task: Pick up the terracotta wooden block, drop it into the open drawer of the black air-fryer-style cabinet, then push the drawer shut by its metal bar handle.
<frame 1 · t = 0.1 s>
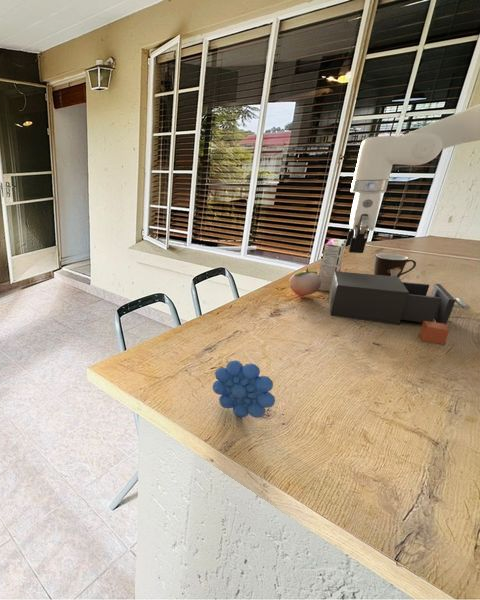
hand: (354, 248, 100), 19 cm above the counter, tool pointing down, fingers open, 9 cm apart
decorative fruit: (302, 297, 118), on the counter
drawer: (417, 302, 98), point 5 cm above the counter, slide at 8.0 cm
block: (431, 339, 88), on the counter
cabinet: (360, 310, 105), on the counter
blue bumpy cluster: (241, 414, 67), on the counter
candy bar box: (326, 287, 125), on the counter
coffee mug: (389, 284, 124), on the counter
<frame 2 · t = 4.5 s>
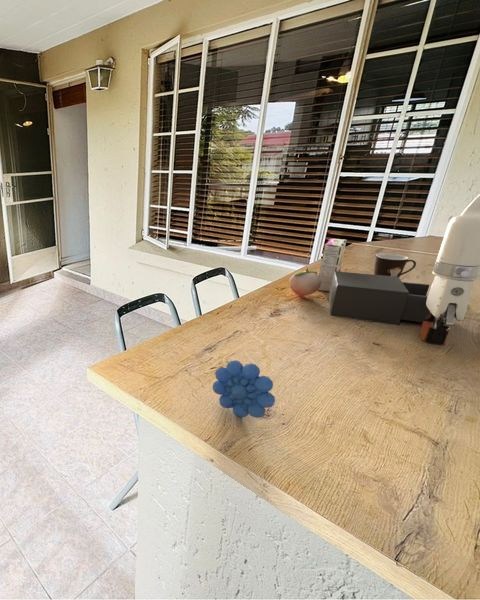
hand: (431, 338, 88), 0 cm above the counter, tool pointing down, fingers closed on block, 4 cm apart
block: (431, 339, 88), on the counter, touching gripper
everything else where it was.
when the fingers open (9 cm above the counter, at t = 9.7 s): block drops 6 cm, resting on drawer.
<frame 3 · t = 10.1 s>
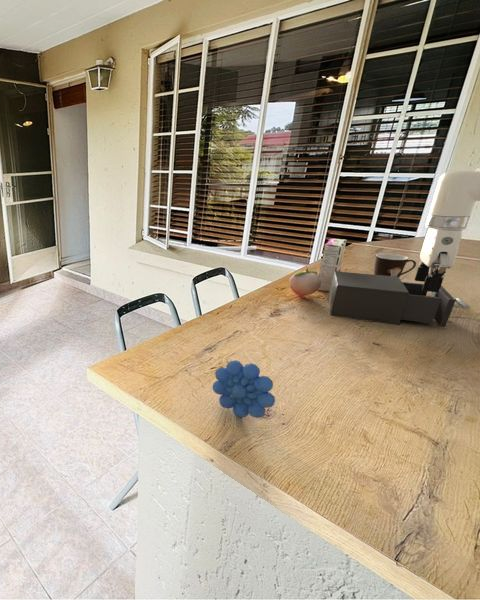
hand: (425, 285, 96), 10 cm above the counter, tool pointing down, fingers open, 8 cm apart
drawer: (417, 302, 98), point 5 cm above the counter, slide at 8.0 cm, touching block
block: (416, 311, 99), point 2 cm above the counter, touching drawer
everything else where it was.
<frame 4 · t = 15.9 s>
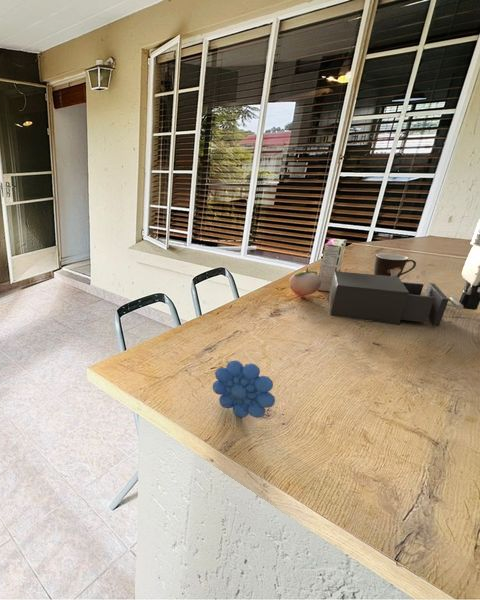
hand: (466, 307, 93), 5 cm above the counter, tool pointing down, fingers closed
drawer: (412, 301, 98), point 5 cm above the counter, slide at 6.8 cm, touching block, gripper
block: (411, 310, 99), point 2 cm above the counter, touching drawer
everything else where it was.
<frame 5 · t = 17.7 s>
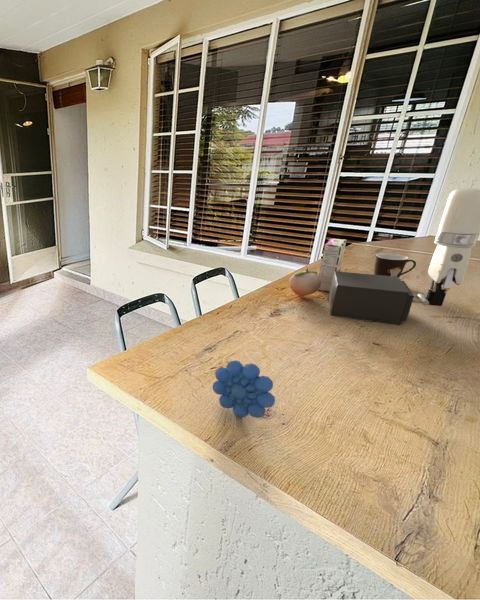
hand: (432, 304, 96), 5 cm above the counter, tool pointing down, fingers closed
drawer: (381, 298, 102), point 5 cm above the counter, slide at 0.1 cm, touching block, gripper
block: (381, 307, 102), point 2 cm above the counter, touching drawer
everything else where it was.
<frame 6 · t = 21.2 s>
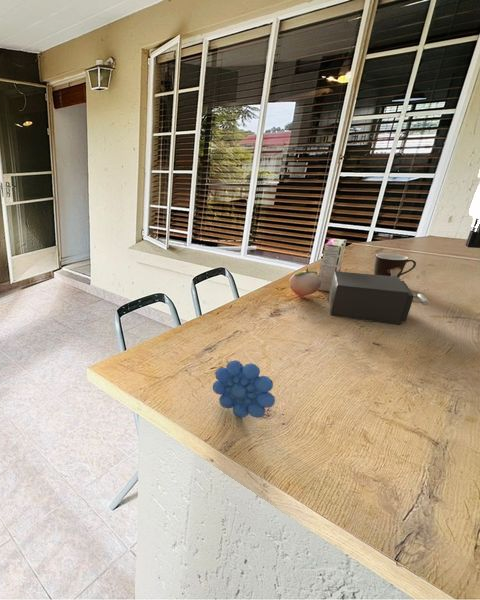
hand: (474, 247, 88), 21 cm above the counter, tool pointing down, fingers closed
drawer: (381, 298, 102), point 5 cm above the counter, slide at 0.1 cm, touching block
everything else where it was.
at the end: drawer slide at 0.1 cm; block inside the target area in the cabinet (4.4 cm from its centre), point 2.0 cm above the cabinet's base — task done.
